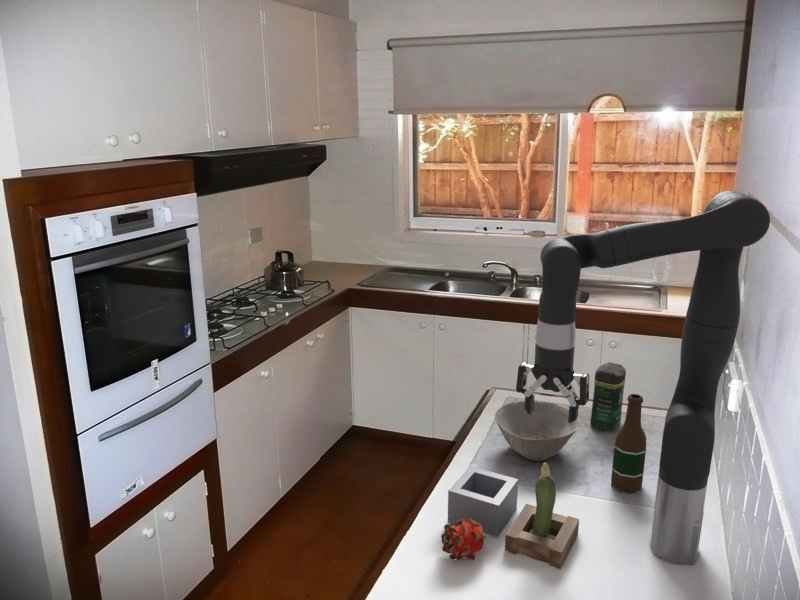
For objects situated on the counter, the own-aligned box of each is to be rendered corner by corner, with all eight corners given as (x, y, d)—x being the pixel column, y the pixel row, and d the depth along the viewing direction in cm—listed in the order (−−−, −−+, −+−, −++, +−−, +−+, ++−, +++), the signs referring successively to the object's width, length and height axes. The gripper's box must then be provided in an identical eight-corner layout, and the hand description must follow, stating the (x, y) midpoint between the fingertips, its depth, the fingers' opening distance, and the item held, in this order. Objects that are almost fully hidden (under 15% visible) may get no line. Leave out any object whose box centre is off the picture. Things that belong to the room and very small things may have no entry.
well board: (577, 534, 148) (579, 519, 147) (560, 569, 137) (561, 552, 136) (525, 518, 154) (526, 503, 153) (504, 550, 143) (505, 534, 142)
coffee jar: (614, 435, 192) (620, 374, 187) (586, 428, 196) (592, 368, 191) (623, 422, 200) (629, 363, 194) (597, 415, 204) (602, 358, 198)
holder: (516, 509, 157) (518, 479, 155) (497, 537, 147) (498, 505, 145) (469, 495, 163) (470, 465, 161) (447, 521, 153) (448, 490, 151)
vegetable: (537, 534, 149) (543, 452, 143) (555, 541, 146) (562, 459, 140) (527, 543, 145) (533, 460, 140) (546, 552, 143) (552, 467, 137)
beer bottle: (648, 484, 167) (658, 395, 160) (634, 497, 162) (644, 406, 155) (618, 473, 172) (627, 386, 166) (604, 485, 167) (612, 396, 160)
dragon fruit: (441, 574, 138) (473, 552, 148) (472, 566, 133) (503, 544, 143) (425, 533, 140) (457, 515, 150) (455, 524, 135) (487, 505, 144)
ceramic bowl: (487, 467, 176) (488, 432, 173) (500, 427, 197) (501, 396, 194) (575, 480, 169) (577, 444, 167) (579, 437, 191) (581, 405, 188)
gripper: (596, 341, 132) (590, 417, 137) (526, 330, 139) (523, 402, 144) (586, 353, 126) (580, 432, 131) (513, 341, 133) (510, 416, 137)
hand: (550, 416), depth 137 cm, fingers open, 8 cm apart
